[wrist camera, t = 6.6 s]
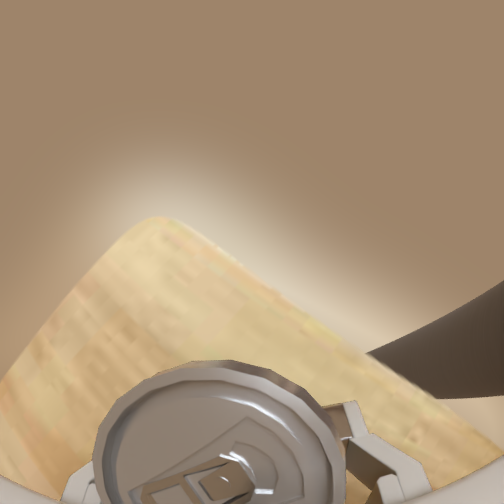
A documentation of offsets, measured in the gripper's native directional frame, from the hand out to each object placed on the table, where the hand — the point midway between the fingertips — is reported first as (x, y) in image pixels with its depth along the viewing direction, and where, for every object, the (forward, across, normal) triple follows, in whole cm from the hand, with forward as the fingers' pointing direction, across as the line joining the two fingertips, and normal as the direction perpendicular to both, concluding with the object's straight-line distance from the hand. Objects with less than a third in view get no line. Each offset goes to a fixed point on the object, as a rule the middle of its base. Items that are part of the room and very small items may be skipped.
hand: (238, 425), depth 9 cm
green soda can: (+4, 0, +5) cm, 7 cm away
